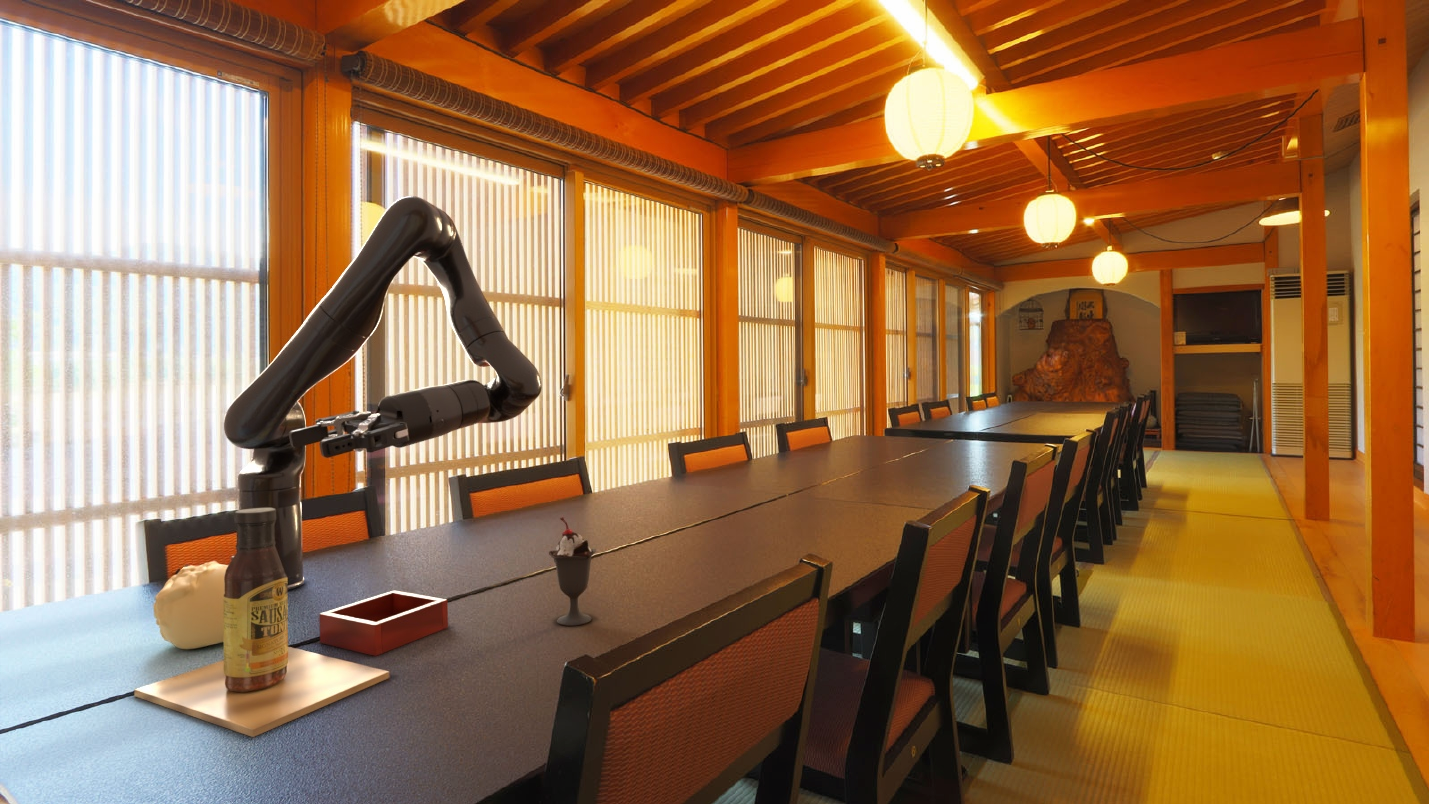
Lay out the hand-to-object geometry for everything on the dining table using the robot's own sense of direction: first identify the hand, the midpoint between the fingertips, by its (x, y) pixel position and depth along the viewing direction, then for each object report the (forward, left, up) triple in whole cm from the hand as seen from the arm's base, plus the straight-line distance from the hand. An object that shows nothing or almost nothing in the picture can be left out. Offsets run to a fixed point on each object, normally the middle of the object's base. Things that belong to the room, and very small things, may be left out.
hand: (305, 444), depth 94 cm
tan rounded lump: (-17, -3, -27) cm, 32 cm away
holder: (+3, +9, -27) cm, 29 cm away
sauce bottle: (+5, -10, -26) cm, 29 cm away
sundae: (+23, +25, -27) cm, 43 cm away
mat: (+5, -9, -27) cm, 29 cm away
